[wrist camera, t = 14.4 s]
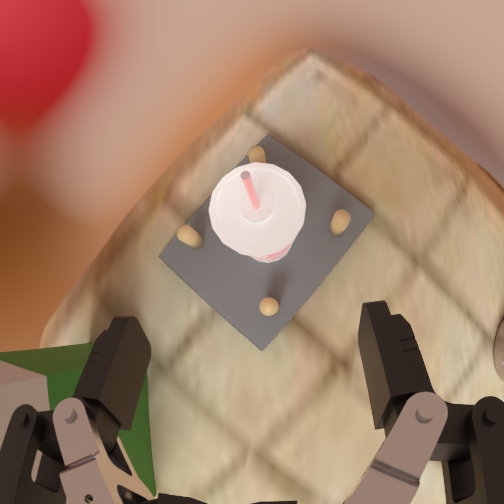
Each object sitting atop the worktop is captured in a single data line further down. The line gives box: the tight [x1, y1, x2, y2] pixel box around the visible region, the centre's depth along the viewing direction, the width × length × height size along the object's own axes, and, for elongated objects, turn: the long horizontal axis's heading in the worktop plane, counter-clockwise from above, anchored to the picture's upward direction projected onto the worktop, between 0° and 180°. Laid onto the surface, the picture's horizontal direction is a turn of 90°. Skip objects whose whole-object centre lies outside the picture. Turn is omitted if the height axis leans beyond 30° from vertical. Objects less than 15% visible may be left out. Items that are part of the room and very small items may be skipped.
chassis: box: [158, 134, 375, 351], centre depth 28 cm, size 16×13×5 cm
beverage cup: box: [209, 162, 306, 263], centre depth 22 cm, size 6×6×14 cm
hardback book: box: [0, 343, 156, 504], centre depth 17 cm, size 18×7×24 cm, turn 179°
